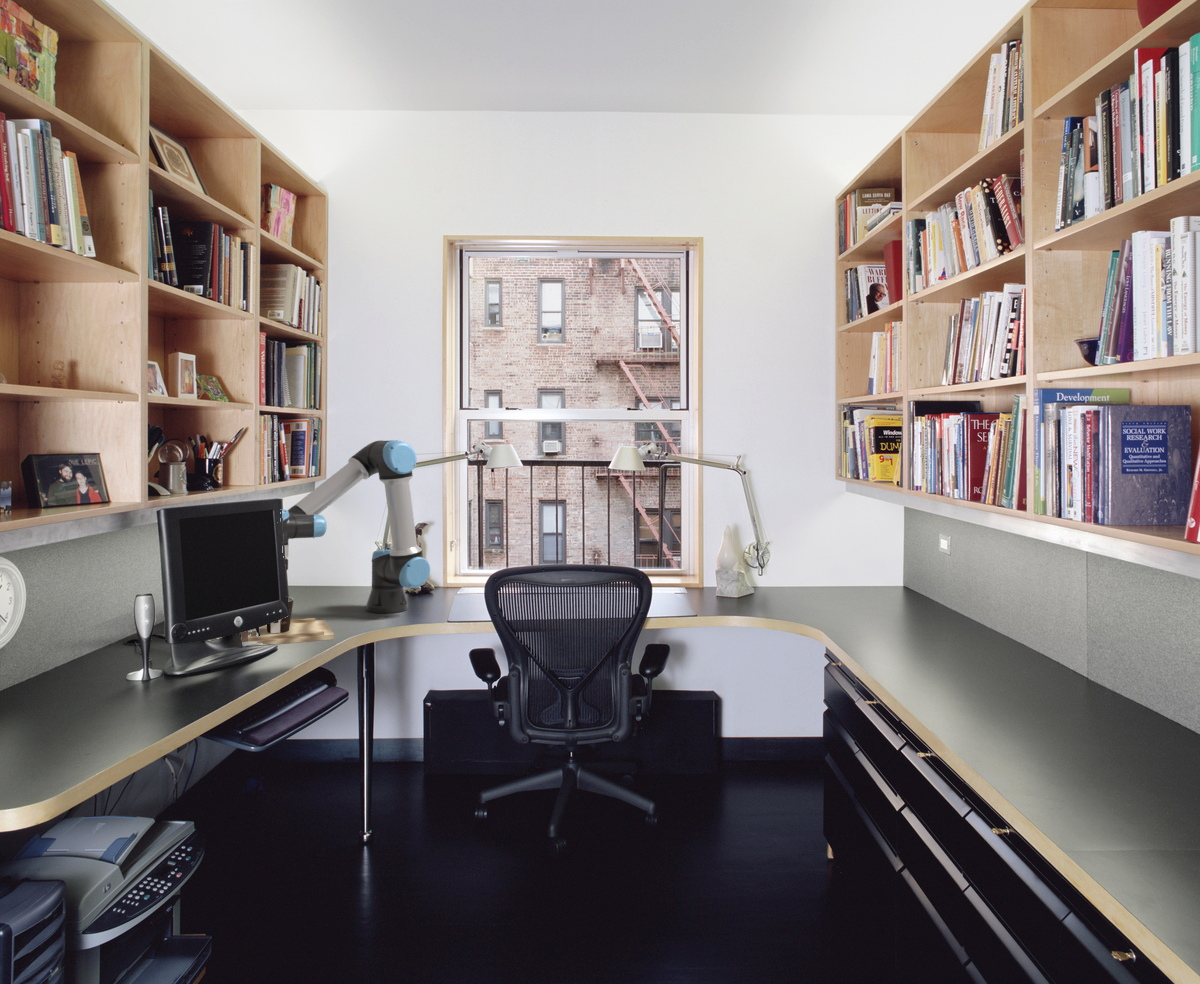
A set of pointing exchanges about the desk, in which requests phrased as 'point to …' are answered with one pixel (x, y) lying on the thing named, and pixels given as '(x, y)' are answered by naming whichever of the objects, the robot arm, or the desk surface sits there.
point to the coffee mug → (284, 619)
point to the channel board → (293, 633)
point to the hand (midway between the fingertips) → (274, 630)
